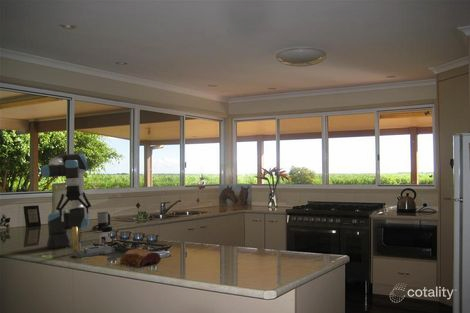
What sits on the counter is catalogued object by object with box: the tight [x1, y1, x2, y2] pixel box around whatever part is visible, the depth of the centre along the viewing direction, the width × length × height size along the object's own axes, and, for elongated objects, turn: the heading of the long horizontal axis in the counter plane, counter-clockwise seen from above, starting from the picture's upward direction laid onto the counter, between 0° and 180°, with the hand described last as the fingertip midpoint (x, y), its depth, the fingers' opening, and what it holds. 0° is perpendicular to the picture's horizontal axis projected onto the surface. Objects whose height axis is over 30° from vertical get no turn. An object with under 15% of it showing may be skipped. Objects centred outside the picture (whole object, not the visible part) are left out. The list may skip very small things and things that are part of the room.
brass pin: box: [71, 227, 80, 252], centre depth 276 cm, size 3×3×16 cm
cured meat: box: [119, 248, 162, 268], centre depth 239 cm, size 18×25×7 cm
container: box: [98, 225, 117, 245], centre depth 296 cm, size 8×8×13 cm
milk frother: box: [91, 211, 111, 231], centre depth 386 cm, size 14×16×15 cm
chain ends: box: [72, 245, 116, 259], centre depth 269 cm, size 10×22×4 cm, turn 121°
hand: (74, 220), depth 276 cm, fingers open, 13 cm apart
